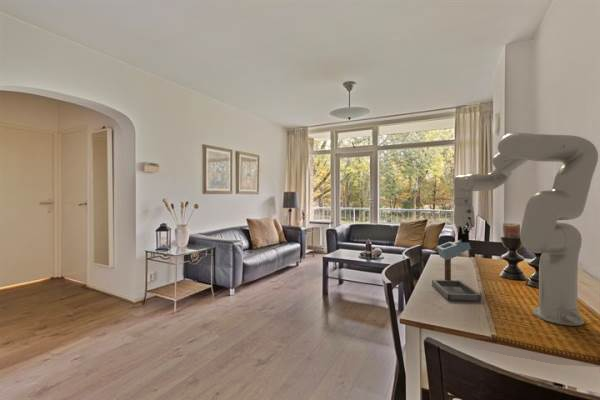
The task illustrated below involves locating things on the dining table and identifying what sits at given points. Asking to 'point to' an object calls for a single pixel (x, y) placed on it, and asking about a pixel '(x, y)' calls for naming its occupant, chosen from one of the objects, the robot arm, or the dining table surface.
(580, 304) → the dining table surface
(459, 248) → the light blue chunk
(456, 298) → the tray
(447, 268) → the post
